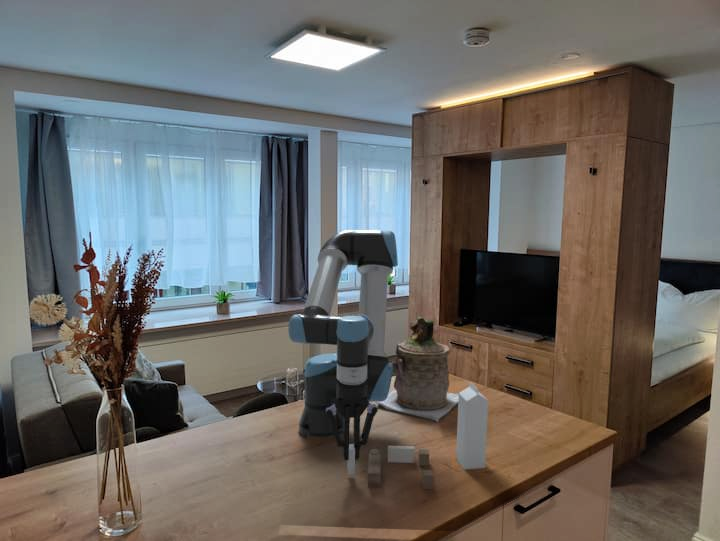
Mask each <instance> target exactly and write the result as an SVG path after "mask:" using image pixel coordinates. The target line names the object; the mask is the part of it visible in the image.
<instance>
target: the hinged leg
mask: <svg viewBox="0 0 720 541" xmlns="http://www.w3.org/2000/svg"><path fill="white" fill-rule="evenodd" d="M381 465H382V462H381V452H380V449H377V448H372V449H370V450H369V452H368V472H367V473H368V474H367V488H378V489H380V488H381V487H382V486H381V481H382V478H381V477H382V473H381V472H382V467H381Z"/></svg>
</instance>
